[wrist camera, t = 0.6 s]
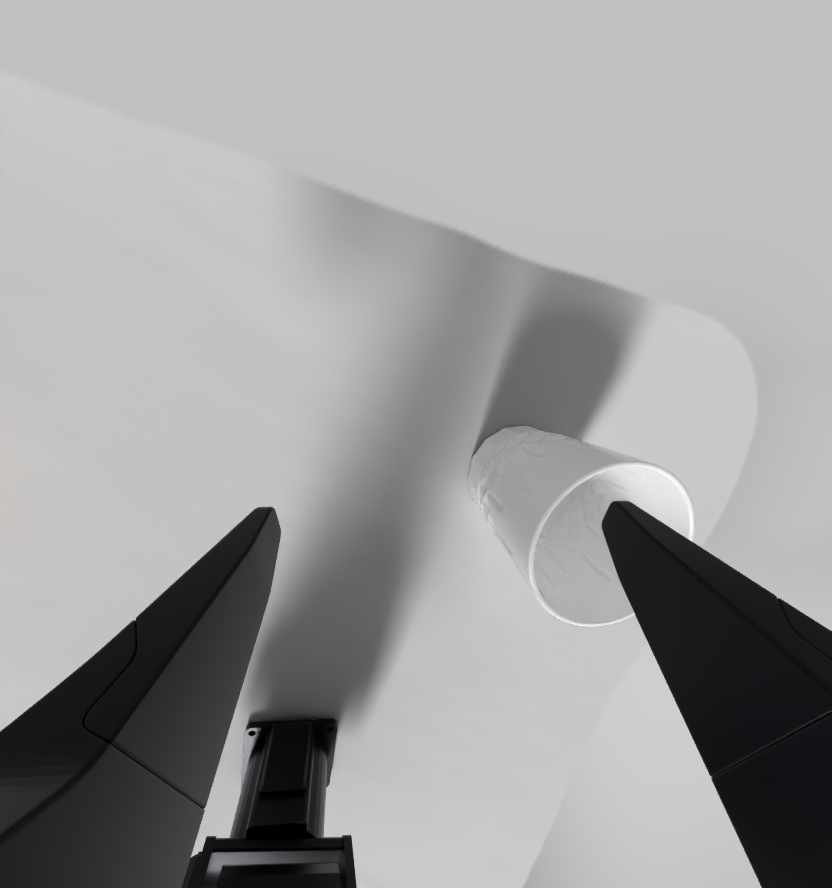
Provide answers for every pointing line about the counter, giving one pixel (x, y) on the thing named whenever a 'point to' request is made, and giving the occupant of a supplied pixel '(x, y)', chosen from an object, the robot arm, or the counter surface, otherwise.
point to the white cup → (569, 515)
